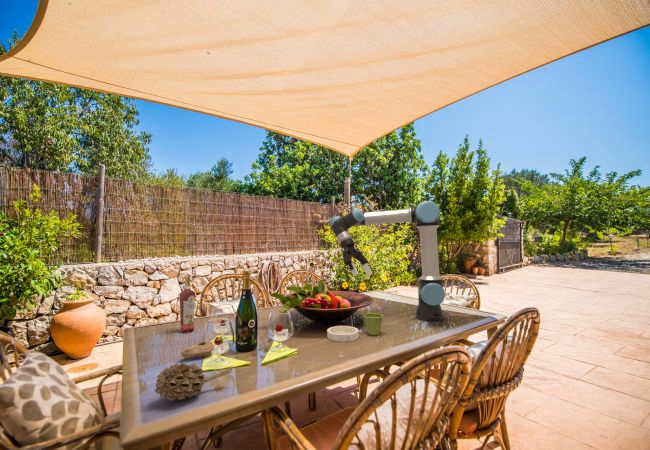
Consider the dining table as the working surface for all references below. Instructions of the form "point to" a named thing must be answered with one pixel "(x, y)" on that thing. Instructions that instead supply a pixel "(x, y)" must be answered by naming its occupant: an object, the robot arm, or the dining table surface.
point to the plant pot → (373, 323)
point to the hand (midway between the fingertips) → (363, 275)
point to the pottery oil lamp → (198, 350)
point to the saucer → (342, 333)
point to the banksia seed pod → (183, 381)
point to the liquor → (187, 306)
